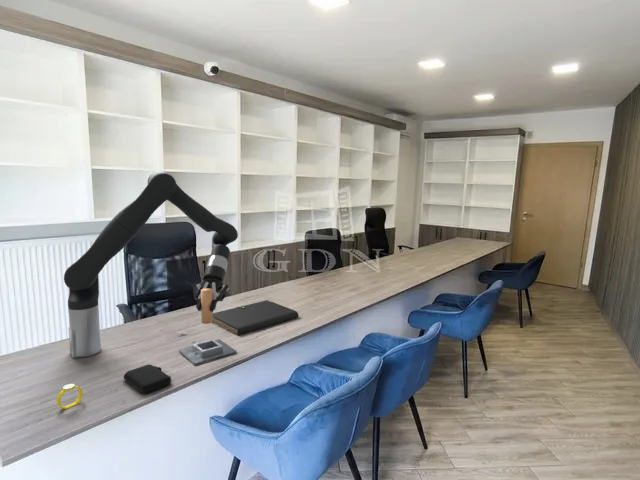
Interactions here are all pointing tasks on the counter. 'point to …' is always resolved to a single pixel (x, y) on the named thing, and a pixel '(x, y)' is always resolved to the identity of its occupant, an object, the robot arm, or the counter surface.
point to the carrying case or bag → (147, 378)
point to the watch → (68, 388)
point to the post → (206, 306)
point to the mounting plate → (207, 351)
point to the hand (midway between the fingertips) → (205, 310)
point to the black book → (253, 317)
